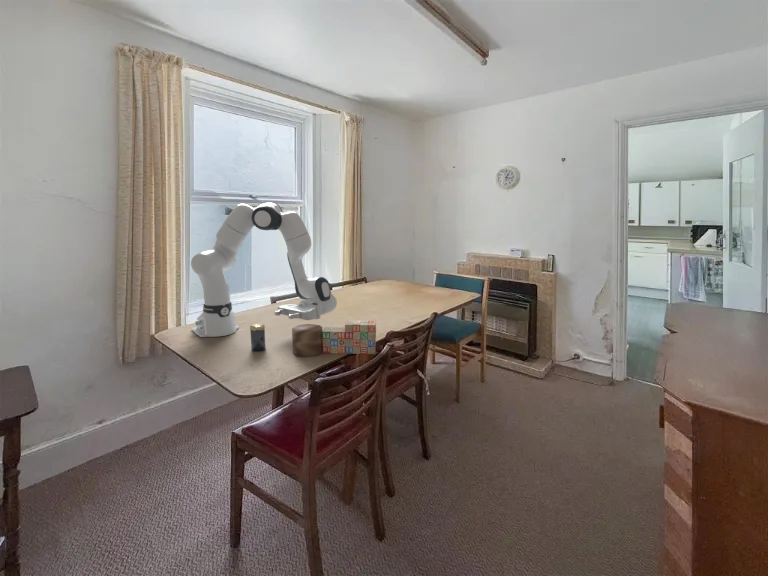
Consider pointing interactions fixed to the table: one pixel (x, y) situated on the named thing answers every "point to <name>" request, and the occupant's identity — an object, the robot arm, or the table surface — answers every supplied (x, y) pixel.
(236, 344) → the table surface
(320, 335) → the brown wooden cylinder
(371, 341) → the stack of blocks
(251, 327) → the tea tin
